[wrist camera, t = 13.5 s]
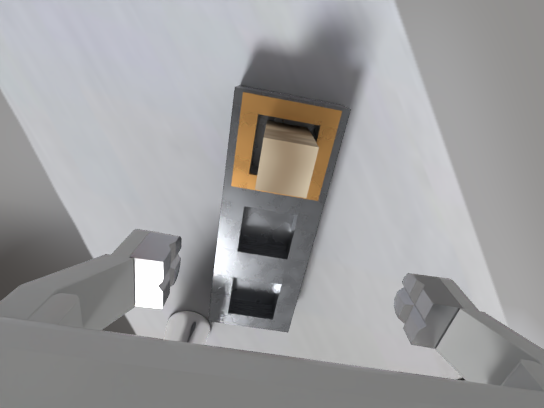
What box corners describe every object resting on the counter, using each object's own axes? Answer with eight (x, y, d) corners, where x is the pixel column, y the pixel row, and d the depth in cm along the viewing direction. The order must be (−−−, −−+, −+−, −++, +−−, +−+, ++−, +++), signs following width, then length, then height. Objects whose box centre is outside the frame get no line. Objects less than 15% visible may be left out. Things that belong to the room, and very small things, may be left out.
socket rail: (239, 85, 27) (234, 87, 24) (342, 105, 28) (351, 109, 24) (213, 300, 38) (207, 323, 35) (287, 311, 39) (288, 334, 35)
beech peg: (308, 127, 28) (319, 147, 20) (299, 166, 29) (306, 198, 22) (267, 120, 27) (263, 137, 20) (260, 160, 29) (254, 189, 22)
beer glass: (171, 301, 38) (114, 427, 25) (220, 317, 40) (190, 446, 26) (158, 335, 41) (100, 465, 28) (204, 349, 42) (170, 481, 29)
